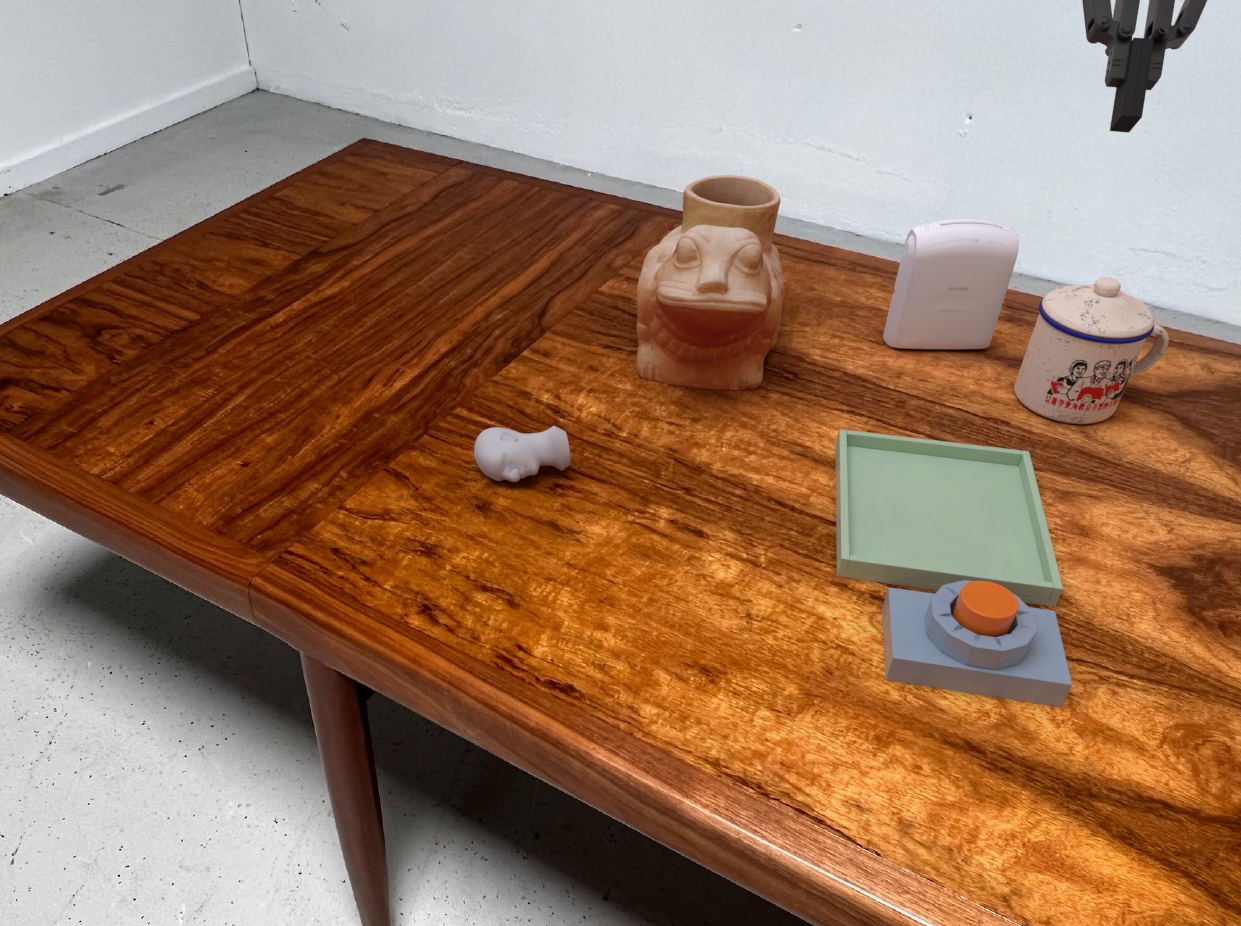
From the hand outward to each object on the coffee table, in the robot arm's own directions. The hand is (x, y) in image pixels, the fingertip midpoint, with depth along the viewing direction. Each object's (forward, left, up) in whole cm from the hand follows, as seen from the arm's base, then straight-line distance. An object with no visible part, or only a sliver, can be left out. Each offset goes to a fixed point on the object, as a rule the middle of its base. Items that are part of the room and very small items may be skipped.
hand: (1125, 123), depth 87 cm
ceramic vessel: (+31, +2, -23) cm, 39 cm away
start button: (+10, +41, -19) cm, 47 cm away
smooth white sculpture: (+44, +27, -23) cm, 57 cm away
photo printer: (+9, -3, -23) cm, 25 cm away
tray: (+11, +26, -23) cm, 36 cm away
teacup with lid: (-3, +5, -23) cm, 24 cm away
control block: (+10, +41, -23) cm, 48 cm away
